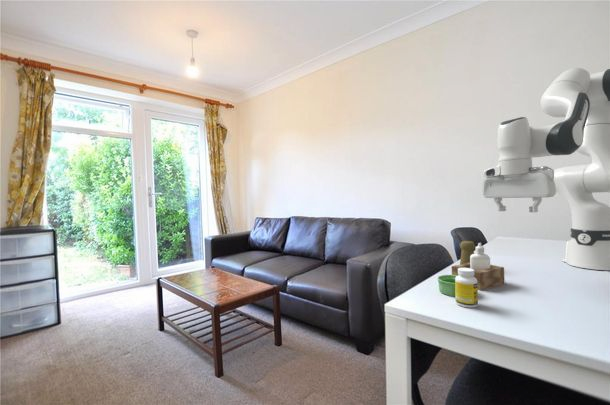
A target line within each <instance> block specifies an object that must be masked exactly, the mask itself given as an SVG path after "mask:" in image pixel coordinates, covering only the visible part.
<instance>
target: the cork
mask: <svg viewBox="0 0 610 405" xmlns="http://www.w3.org/2000/svg"><path fill="white" fill-rule="evenodd" d="M459 248H460V249H461V252H460V261H459V265H460V264H465V263H470V256H471V255H472V254H475V252H474V251H475V250H476V244H475V242H474V241H471V240H464V241H460V244H459Z"/></svg>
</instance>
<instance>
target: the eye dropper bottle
mask: <svg viewBox="0 0 610 405" xmlns="http://www.w3.org/2000/svg"><path fill="white" fill-rule="evenodd" d="M490 265H491V257H490V255H488V254H486V253H485V247H484V246H482V242H478V243H477V246H475V252H474V254H472V255H471V256H470V268H471V269H473V270H476V271H480V270H485V269H490Z"/></svg>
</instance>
